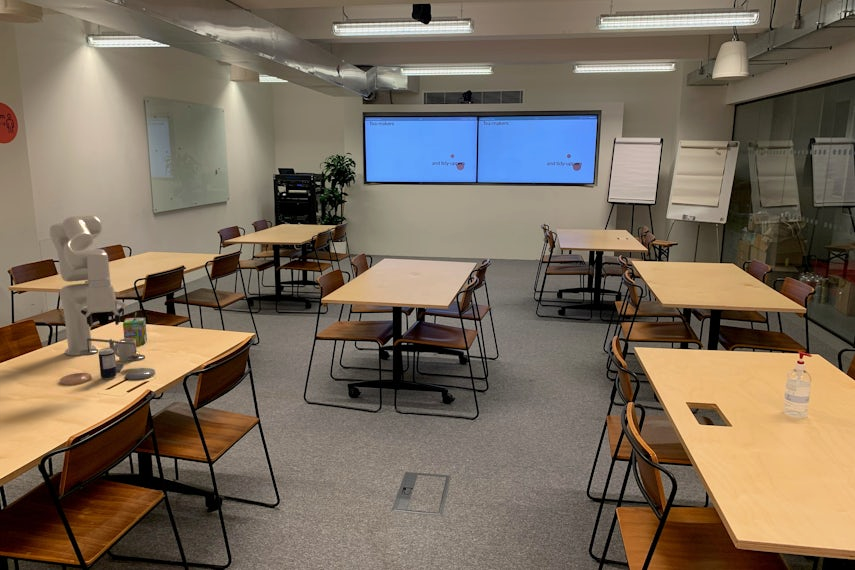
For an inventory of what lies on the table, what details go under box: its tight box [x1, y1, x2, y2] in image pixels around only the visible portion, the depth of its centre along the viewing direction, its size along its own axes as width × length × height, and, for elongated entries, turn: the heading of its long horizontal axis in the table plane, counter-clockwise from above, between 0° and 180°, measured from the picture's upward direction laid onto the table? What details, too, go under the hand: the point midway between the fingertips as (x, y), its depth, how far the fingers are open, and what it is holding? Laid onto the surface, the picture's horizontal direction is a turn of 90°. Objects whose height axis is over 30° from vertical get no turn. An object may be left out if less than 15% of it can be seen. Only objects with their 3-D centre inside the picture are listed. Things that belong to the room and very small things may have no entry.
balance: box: [78, 337, 146, 374], centre depth 260 cm, size 8×25×15 cm, turn 105°
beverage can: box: [98, 347, 117, 381], centre depth 251 cm, size 6×6×12 cm
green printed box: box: [122, 313, 148, 346], centre depth 297 cm, size 9×9×15 cm
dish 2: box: [125, 367, 156, 381], centre depth 255 cm, size 11×11×1 cm
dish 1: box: [59, 372, 93, 386], centre depth 249 cm, size 11×11×1 cm
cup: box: [114, 338, 138, 363], centre depth 273 cm, size 7×10×9 cm
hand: (104, 324), depth 247 cm, fingers open, 9 cm apart
